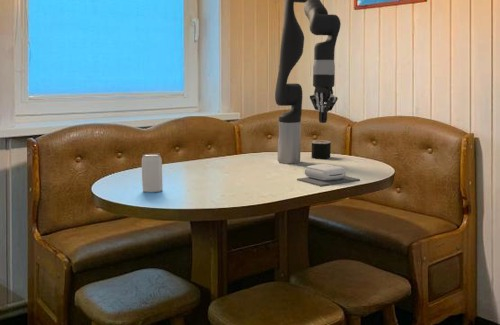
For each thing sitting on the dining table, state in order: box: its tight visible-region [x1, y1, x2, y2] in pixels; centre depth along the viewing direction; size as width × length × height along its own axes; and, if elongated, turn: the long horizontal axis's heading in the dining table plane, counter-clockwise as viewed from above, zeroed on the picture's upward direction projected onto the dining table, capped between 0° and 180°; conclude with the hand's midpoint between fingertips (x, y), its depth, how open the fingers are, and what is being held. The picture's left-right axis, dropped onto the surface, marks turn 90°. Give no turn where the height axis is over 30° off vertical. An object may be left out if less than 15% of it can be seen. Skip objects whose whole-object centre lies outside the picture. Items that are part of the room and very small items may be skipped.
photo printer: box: [304, 163, 347, 181], centre depth 197 cm, size 10×4×12 cm
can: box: [141, 152, 164, 193], centre depth 179 cm, size 6×6×12 cm
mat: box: [296, 175, 361, 187], centre depth 196 cm, size 13×18×1 cm
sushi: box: [310, 139, 332, 160], centre depth 246 cm, size 8×8×8 cm
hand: (322, 122), depth 195 cm, fingers closed
